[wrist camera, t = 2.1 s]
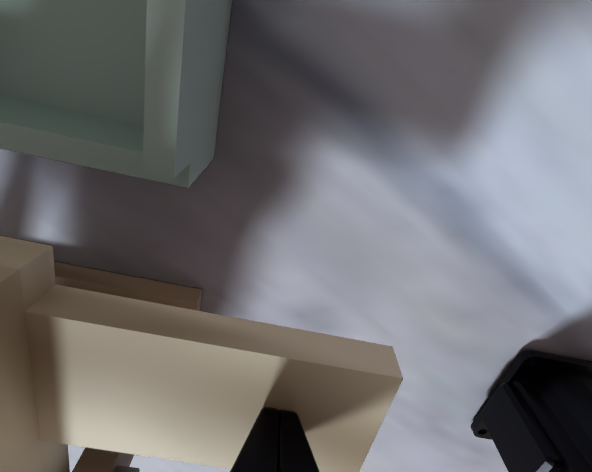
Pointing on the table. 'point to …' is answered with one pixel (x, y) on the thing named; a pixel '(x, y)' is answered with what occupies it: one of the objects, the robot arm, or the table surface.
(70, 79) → the bin
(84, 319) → the tipping lever
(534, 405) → the robot arm
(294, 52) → the table surface
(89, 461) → the lever stand
